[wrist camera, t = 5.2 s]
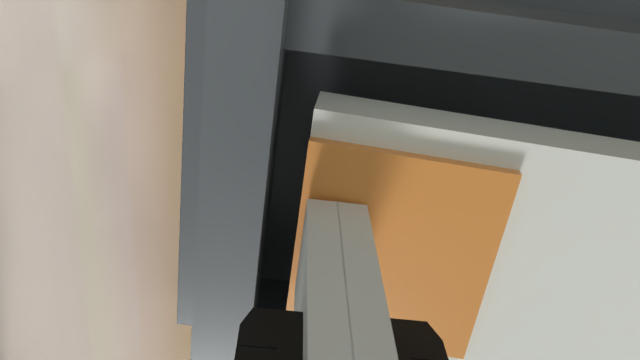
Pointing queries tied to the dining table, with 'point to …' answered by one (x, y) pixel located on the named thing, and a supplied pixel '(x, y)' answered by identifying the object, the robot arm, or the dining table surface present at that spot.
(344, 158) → the rocker
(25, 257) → the dining table surface
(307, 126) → the box
